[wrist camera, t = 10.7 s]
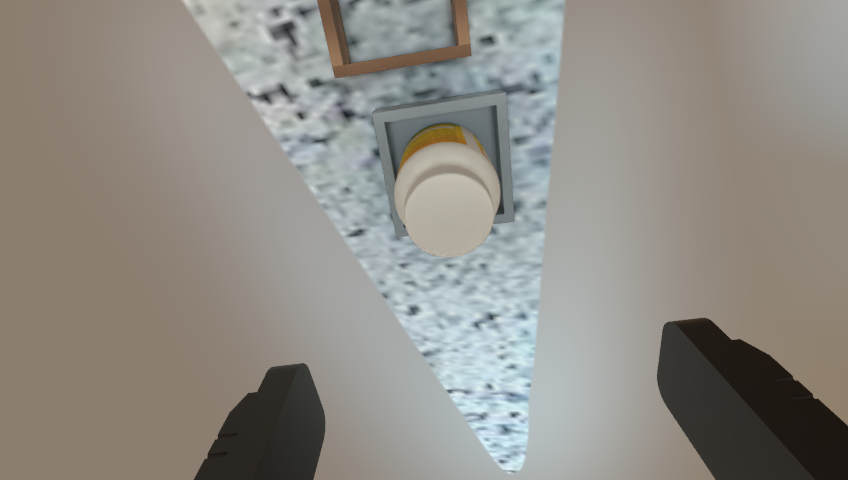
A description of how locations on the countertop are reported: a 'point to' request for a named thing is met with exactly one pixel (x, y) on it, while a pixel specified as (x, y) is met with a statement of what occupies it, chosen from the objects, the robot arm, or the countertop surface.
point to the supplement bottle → (446, 190)
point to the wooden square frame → (345, 68)
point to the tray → (470, 111)
